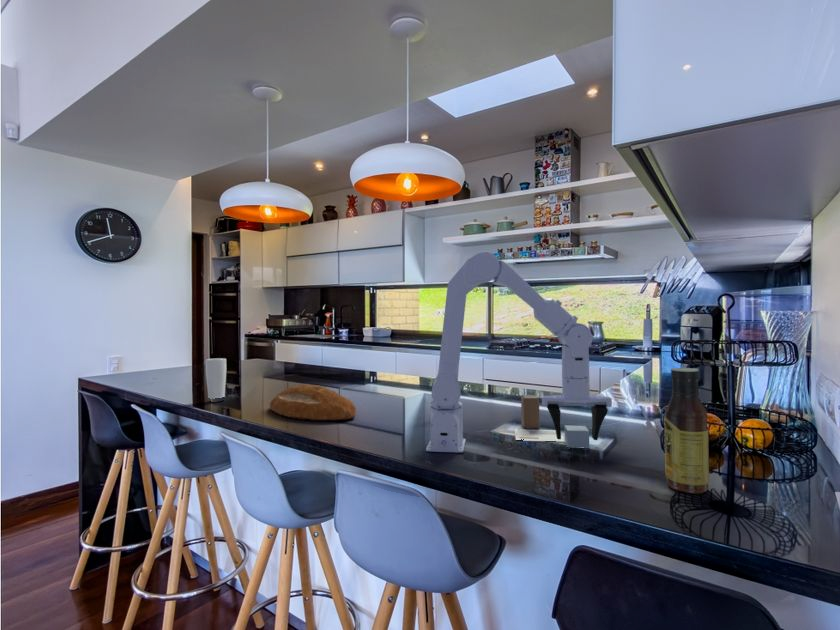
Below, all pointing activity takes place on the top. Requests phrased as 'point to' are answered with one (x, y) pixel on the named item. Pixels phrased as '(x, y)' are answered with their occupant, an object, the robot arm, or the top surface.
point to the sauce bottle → (686, 435)
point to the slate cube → (576, 436)
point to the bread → (312, 404)
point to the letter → (537, 435)
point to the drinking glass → (216, 377)
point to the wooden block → (530, 412)
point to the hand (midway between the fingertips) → (576, 438)
